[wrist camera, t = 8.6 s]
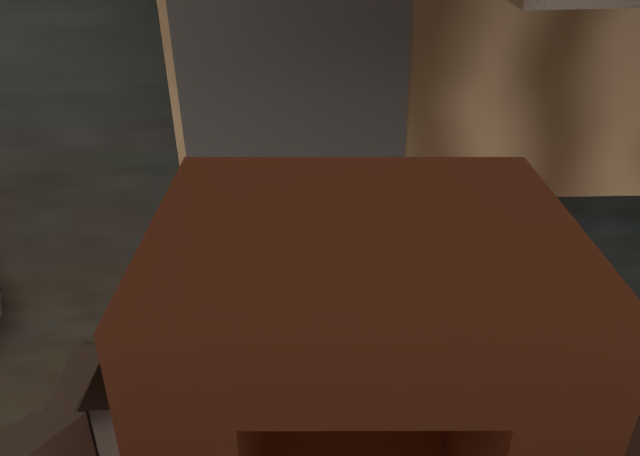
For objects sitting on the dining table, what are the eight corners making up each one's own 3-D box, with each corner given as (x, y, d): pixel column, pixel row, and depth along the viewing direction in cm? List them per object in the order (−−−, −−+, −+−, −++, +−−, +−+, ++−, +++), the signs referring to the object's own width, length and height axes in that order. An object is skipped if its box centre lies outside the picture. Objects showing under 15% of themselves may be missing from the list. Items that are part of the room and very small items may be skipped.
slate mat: (412, -25, 27) (414, -24, 27) (401, 199, 32) (402, 202, 32) (165, -20, 27) (163, -19, 27) (194, 202, 33) (192, 206, 32)
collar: (524, 157, 11) (667, 333, 6) (481, 408, 14) (560, 650, 9) (184, 157, 11) (93, 334, 6) (212, 409, 14) (162, 653, 9)
